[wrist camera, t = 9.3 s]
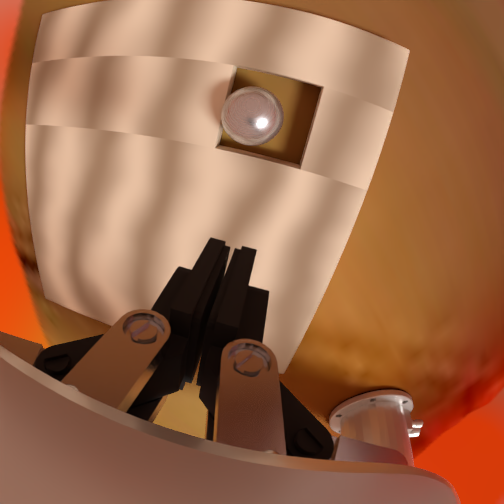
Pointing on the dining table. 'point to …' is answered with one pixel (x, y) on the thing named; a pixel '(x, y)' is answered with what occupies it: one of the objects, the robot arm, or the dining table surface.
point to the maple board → (196, 152)
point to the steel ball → (252, 116)
